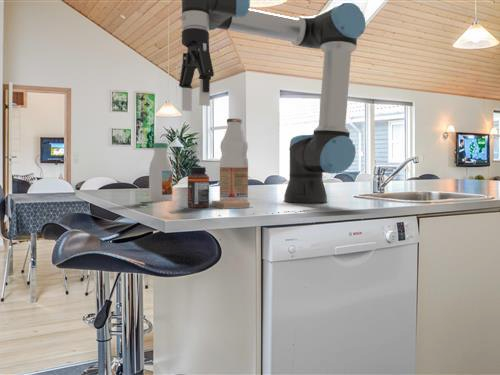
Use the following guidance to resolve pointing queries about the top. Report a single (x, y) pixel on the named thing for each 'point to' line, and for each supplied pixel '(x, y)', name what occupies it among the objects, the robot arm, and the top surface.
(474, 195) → the top surface
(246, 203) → the tile
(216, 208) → the mat
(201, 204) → the supplement bottle
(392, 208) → the top surface
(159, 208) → the top surface
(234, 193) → the fruit juice
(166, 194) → the milk bottle
